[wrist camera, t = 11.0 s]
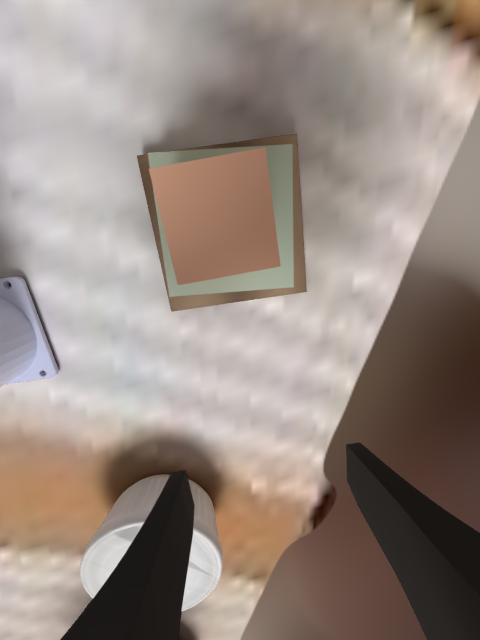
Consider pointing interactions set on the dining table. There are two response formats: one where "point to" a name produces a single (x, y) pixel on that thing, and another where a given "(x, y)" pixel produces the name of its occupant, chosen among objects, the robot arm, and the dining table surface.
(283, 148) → the tower top
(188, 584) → the ramekin
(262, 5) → the dining table surface
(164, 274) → the tower base
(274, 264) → the terracotta block
